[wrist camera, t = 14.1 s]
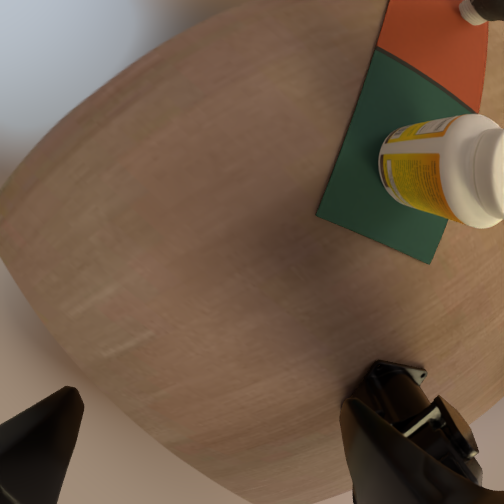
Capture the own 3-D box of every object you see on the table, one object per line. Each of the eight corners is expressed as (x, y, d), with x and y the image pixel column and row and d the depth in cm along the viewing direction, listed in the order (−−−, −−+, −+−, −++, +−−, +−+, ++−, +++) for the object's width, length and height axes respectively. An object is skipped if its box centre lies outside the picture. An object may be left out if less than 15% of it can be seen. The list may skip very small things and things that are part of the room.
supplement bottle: (422, 219, 19) (525, 262, 9) (362, 182, 18) (460, 202, 8) (449, 153, 17) (555, 159, 8) (392, 111, 17) (495, 81, 7)
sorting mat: (487, 14, 13) (488, 14, 13) (428, 264, 20) (429, 265, 20) (401, -46, 12) (402, -47, 12) (315, 215, 19) (316, 216, 19)
